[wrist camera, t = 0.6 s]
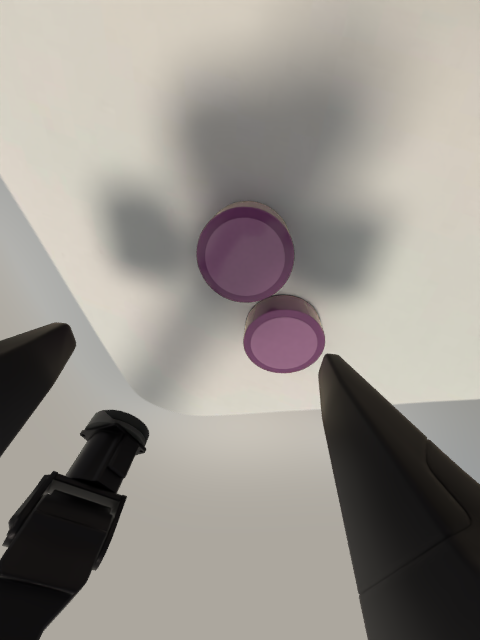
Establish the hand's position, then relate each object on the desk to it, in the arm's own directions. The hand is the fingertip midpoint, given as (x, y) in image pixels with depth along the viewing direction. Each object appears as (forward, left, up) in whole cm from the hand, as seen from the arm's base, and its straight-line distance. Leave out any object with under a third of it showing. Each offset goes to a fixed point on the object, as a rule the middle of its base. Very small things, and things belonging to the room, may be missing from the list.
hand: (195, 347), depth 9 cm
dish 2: (+1, -8, -11) cm, 14 cm away
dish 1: (+1, 0, -11) cm, 11 cm away
